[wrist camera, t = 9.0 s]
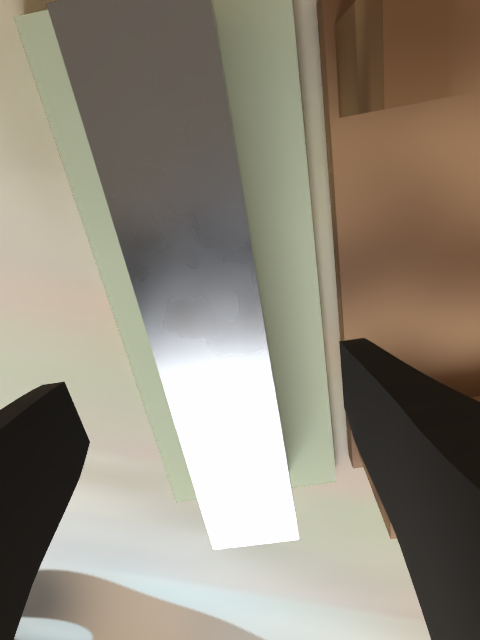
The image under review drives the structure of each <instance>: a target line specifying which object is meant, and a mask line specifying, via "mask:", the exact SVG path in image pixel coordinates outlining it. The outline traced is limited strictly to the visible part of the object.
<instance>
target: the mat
mask: <svg viewBox="0 0 480 640" xmlns="http://www.w3.org/2000/svg"><path fill="white" fill-rule="evenodd" d="M212 3H213V8H214V13H215V19H216V25H217V31H218V37H219V44H220V50H221V56H222V62H223V68H224V74H225V80H226V86H227V93H228V99H229V105H230V111H231V117H232V123H233V129H234V136H235V142H236V148H237V154H238V160H239V166H240V172H241V179H242V185H243V191H244V197H245V203H246V209H247V215H248V222H249V228H250V234H251V240H252V246H253V252H254V258H255V265H256V271H257V277H258V283H259V289H260V295H261V301H262V307H263V314H264V320H265V326H266V332H267V338H268V344H269V350H270V357H271V363H272V369H273V375H274V381H275V387H276V393H277V400H278V406H279V412H280V418H281V424H282V430H283V436H284V443H285V449H286V455H287V461H288V467H289V473H290V480H291V487H292V488H296V487H304V486H312V485H320V484H328V483H336V471H335V460H334V449H333V438H332V427H331V417H330V406H329V395H328V384H327V373H326V362H325V351H324V340H323V330H322V319H321V308H320V297H319V286H318V275H317V264H316V254H315V243H314V232H313V221H312V210H311V199H310V188H309V177H308V167H307V156H306V145H305V134H304V123H303V112H302V101H301V91H300V80H299V69H298V58H297V47H296V36H295V25H294V14H293V4H292V0H212ZM14 20H15V23H16V26H17V29H18V32H19V35H20V38H21V41H22V44H23V47H24V50H25V53H26V56H27V59H28V62H29V65H30V68H31V71H32V74H33V77H34V80H35V83H36V86H37V89H38V92H39V95H40V98H41V101H42V104H43V107H44V110H45V113H46V116H47V119H48V122H49V125H50V128H51V131H52V133H53V136H54V139H55V142H56V145H57V148H58V151H59V154H60V157H61V160H62V163H63V166H64V169H65V172H66V175H67V178H68V181H69V184H70V187H71V190H72V193H73V196H74V199H75V202H76V205H77V208H78V211H79V214H80V217H81V220H82V223H83V226H84V229H85V232H86V235H87V238H88V241H89V244H90V247H91V250H92V253H93V256H94V259H95V262H96V265H97V268H98V271H99V274H100V277H101V280H102V283H103V286H104V289H105V292H106V295H107V298H108V301H109V304H110V307H111V310H112V313H113V316H114V319H115V322H116V325H117V328H118V330H119V333H120V336H121V339H122V342H123V345H124V348H125V351H126V354H127V357H128V360H129V363H130V366H131V369H132V372H133V375H134V378H135V381H136V384H137V387H138V390H139V393H140V396H141V399H142V402H143V405H144V408H145V411H146V414H147V417H148V420H149V423H150V426H151V429H152V432H153V435H154V438H155V441H156V444H157V447H158V450H159V453H160V456H161V459H162V462H163V465H164V468H165V471H166V474H167V477H168V480H169V483H170V486H171V489H172V492H173V495H174V498H175V501H176V502H183V501H191V500H198V499H197V495H196V492H195V489H194V486H193V482H192V479H191V476H190V472H189V469H188V466H187V463H186V459H185V456H184V453H183V450H182V446H181V443H180V440H179V437H178V433H177V430H176V427H175V423H174V420H173V417H172V414H171V410H170V407H169V404H168V401H167V397H166V394H165V391H164V387H163V384H162V381H161V378H160V374H159V371H158V368H157V365H156V361H155V358H154V355H153V352H152V348H151V345H150V342H149V338H148V335H147V332H146V329H145V325H144V322H143V319H142V316H141V312H140V309H139V306H138V303H137V299H136V296H135V293H134V289H133V286H132V283H131V280H130V276H129V273H128V270H127V267H126V263H125V260H124V257H123V254H122V250H121V247H120V244H119V240H118V237H117V234H116V231H115V227H114V224H113V221H112V218H111V214H110V211H109V208H108V204H107V201H106V198H105V195H104V191H103V188H102V185H101V182H100V178H99V175H98V172H97V169H96V165H95V162H94V159H93V155H92V152H91V149H90V146H89V142H88V139H87V136H86V133H85V129H84V126H83V123H82V120H81V116H80V113H79V110H78V106H77V103H76V100H75V97H74V93H73V90H72V87H71V84H70V80H69V77H68V74H67V71H66V67H65V64H64V61H63V57H62V54H61V51H60V48H59V44H58V41H57V38H56V35H55V31H54V28H53V25H52V22H51V18H50V15H49V12H48V10H43V11H39V12H34V13H30V14H25V15H20V16H16V17H14Z"/></svg>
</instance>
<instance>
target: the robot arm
mask: <svg viewBox="0 0 480 640" xmlns="http://www.w3.org/2000/svg"><path fill="white" fill-rule="evenodd" d="M339 342H340V355H341V369H342V382H343V396H344V408H345V411H346V415H347V418H348V422H349V425H350V428H351V431H352V435H353V438H354V441H355V444H356V446H357V448H358V451H359V453H360V455H361V457H362V460H363V462H364V464H365V466H366V469H367V471H368V473H369V475H370V477H371V480H372V482H373V484H374V486H375V489H376V491H377V493H378V495H379V498H380V500H381V502H382V504H383V506H384V509H385V511H386V513H387V515H388V518H389V520H390V522H391V524H392V527H393V529H394V532H395V534H396V537H397V539H398V542H399V544H400V547H401V550H402V553H403V556H404V559H405V562H406V565H407V568H408V570H409V573H410V576H411V579H412V582H413V585H414V588H415V591H416V594H417V597H418V600H419V603H420V606H421V609H422V612H423V615H424V619H425V622H426V625H427V628H428V631H429V634H430V637H431V640H480V402H479V401H477V400H475V399H473V398H470V397H468V396H466V395H464V394H462V393H460V392H458V391H456V390H454V389H452V388H450V387H448V386H446V385H444V384H442V383H440V382H438V381H436V380H435V379H433V378H431V377H429V376H427V375H425V374H424V373H422V372H420V371H418V370H417V369H415V368H413V367H412V366H410V365H408V364H406V363H405V362H403V361H402V360H400V359H398V358H397V357H395V356H393V355H392V354H390V353H389V352H387V351H385V350H384V349H382V348H381V347H379V346H377V345H376V344H374V343H373V342H371V341H369V340H368V339H366V338H358V339H352V340H345V341H339ZM89 443H90V441H89V439H88V436H87V434H86V432H85V429H84V427H83V425H82V422H81V420H80V417H79V415H78V413H77V410H76V408H75V406H74V403H73V401H72V398H71V396H70V394H69V391H68V389H67V387H66V384H65V382H60V383H53V384H46V385H42V386H40V387H38V388H36V389H34V390H32V391H30V392H28V393H27V394H25V395H23V396H21V397H20V398H18V399H17V400H15V401H13V402H12V403H10V404H9V405H7V406H6V407H4V408H3V409H1V410H0V640H14V637H15V634H16V631H17V628H18V625H19V622H20V619H21V616H22V613H23V610H24V607H25V604H26V601H27V599H28V596H29V593H30V590H31V587H32V584H33V582H34V579H35V577H36V575H37V572H38V570H39V567H40V565H41V562H42V560H43V558H44V556H45V554H46V552H47V549H48V547H49V545H50V543H51V541H52V538H53V536H54V534H55V532H56V530H57V527H58V525H59V523H60V521H61V519H62V516H63V514H64V512H65V510H66V508H67V505H68V503H69V501H70V499H71V496H72V494H73V492H74V490H75V487H76V485H77V483H78V480H79V478H80V475H81V472H82V468H83V465H84V462H85V458H86V455H87V451H88V447H89Z"/></svg>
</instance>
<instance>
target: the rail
mask: <svg viewBox="0 0 480 640" xmlns="http://www.w3.org/2000/svg"><path fill="white" fill-rule="evenodd" d="M46 5H47V8H48V12H49V15H50V18H51V22H52V25H53V28H54V31H55V35H56V38H57V41H58V44H59V48H60V51H61V54H62V57H63V61H64V64H65V67H66V71H67V74H68V77H69V80H70V84H71V87H72V90H73V93H74V97H75V100H76V103H77V106H78V110H79V113H80V116H81V120H82V123H83V126H84V129H85V133H86V136H87V139H88V142H89V146H90V149H91V152H92V155H93V159H94V162H95V165H96V169H97V172H98V175H99V178H100V182H101V185H102V188H103V191H104V195H105V198H106V201H107V204H108V208H109V211H110V214H111V218H112V221H113V224H114V227H115V231H116V234H117V237H118V240H119V244H120V247H121V250H122V254H123V257H124V260H125V263H126V267H127V270H128V273H129V276H130V280H131V283H132V286H133V289H134V293H135V296H136V299H137V303H138V306H139V309H140V312H141V316H142V319H143V322H144V325H145V329H146V332H147V335H148V338H149V342H150V345H151V348H152V352H153V355H154V358H155V361H156V365H157V368H158V371H159V374H160V378H161V381H162V384H163V387H164V391H165V394H166V397H167V401H168V404H169V407H170V410H171V414H172V417H173V420H174V423H175V427H176V430H177V433H178V437H179V440H180V443H181V446H182V450H183V453H184V456H185V459H186V463H187V466H188V469H189V472H190V476H191V479H192V482H193V486H194V489H195V492H196V495H197V499H198V502H199V505H200V508H201V512H202V515H203V518H204V521H205V525H206V528H207V531H208V535H209V538H210V541H211V544H212V548H213V550H216V549H225V548H233V547H242V546H250V545H259V544H267V543H276V542H284V541H293V540H299V533H298V527H297V520H296V513H295V507H294V500H293V493H292V487H291V480H290V473H289V467H288V461H287V455H286V449H285V443H284V436H283V430H282V424H281V418H280V412H279V406H278V400H277V393H276V387H275V381H274V375H273V369H272V363H271V357H270V350H269V344H268V338H267V332H266V326H265V320H264V314H263V307H262V301H261V295H260V289H259V283H258V277H257V271H256V265H255V258H254V252H253V246H252V240H251V234H250V228H249V222H248V215H247V209H246V203H245V197H244V191H243V185H242V179H241V172H240V166H239V160H238V154H237V148H236V142H235V136H234V129H233V123H232V117H231V111H230V105H229V99H228V93H227V86H226V80H225V74H224V68H223V62H222V56H221V50H220V44H219V37H218V31H217V25H216V19H215V13H214V8H213V3H212V0H60V1H55V2H51V3H46Z"/></svg>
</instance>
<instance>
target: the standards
mask: <svg viewBox="0 0 480 640" xmlns="http://www.w3.org/2000/svg"><path fill="white" fill-rule="evenodd" d="M317 16H318V30H319V44H320V58H321V72H322V86H323V100H324V114H325V128H326V142H327V156H328V170H329V184H330V198H331V212H332V226H333V240H334V254H335V268H336V282H337V296H338V310H339V324H340V338H341V341H345V340H352V339H358V338H366V339H368V340H369V341H371V342H373V343H374V344H376V345H377V346H379V347H381V348H382V349H384V350H385V351H387V352H389V353H390V354H392V355H393V356H395V357H397V358H398V359H400V360H402V361H403V362H405V363H406V364H408V365H410V366H412V367H413V368H415V369H417V370H418V371H420V372H422V373H424V374H425V375H427V376H429V377H431V378H433V379H435V380H436V381H438V382H440V383H442V384H444V385H446V386H448V387H450V388H452V389H454V390H456V391H458V392H460V393H462V394H464V395H466V396H468V397H470V398H473V399H475V400H477V401H479V402H480V0H318V1H317ZM346 422H347V436H348V450H349V458H350V460H351V463H352V466H353V468H359V467H364V469H365V472H366V475H367V477H368V480H369V483H370V485H371V488H372V491H373V493H374V496H375V499H376V501H377V504H378V507H379V509H380V512H381V515H382V517H383V520H384V522H385V525H386V528H387V530H388V533H389V536H390V538H391V539H394V538H397V537H396V534H395V532H394V529H393V527H392V524H391V522H390V520H389V518H388V515H387V513H386V511H385V509H384V506H383V504H382V502H381V500H380V498H379V495H378V493H377V491H376V489H375V486H374V484H373V482H372V480H371V477H370V475H369V473H368V471H367V469H366V466H365V464H364V462H363V460H362V457H361V455H360V453H359V451H358V448H357V446H356V444H355V441H354V438H353V435H352V431H351V428H350V425H349V422H348V418H347V415H346Z"/></svg>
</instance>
